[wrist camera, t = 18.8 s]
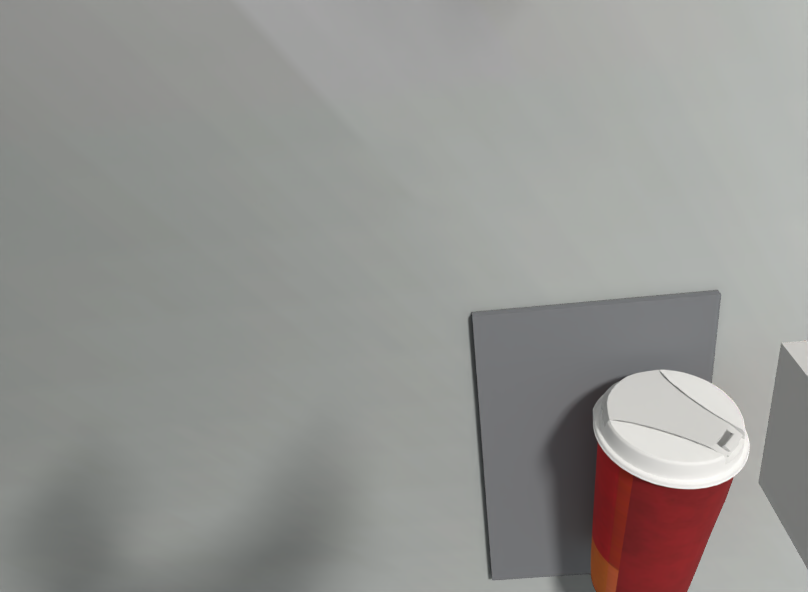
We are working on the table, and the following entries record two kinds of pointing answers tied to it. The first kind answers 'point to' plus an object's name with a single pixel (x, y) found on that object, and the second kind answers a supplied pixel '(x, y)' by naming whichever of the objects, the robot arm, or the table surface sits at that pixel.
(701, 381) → the coffee cup
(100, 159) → the table surface
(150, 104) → the table surface
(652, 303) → the mat
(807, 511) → the robot arm
